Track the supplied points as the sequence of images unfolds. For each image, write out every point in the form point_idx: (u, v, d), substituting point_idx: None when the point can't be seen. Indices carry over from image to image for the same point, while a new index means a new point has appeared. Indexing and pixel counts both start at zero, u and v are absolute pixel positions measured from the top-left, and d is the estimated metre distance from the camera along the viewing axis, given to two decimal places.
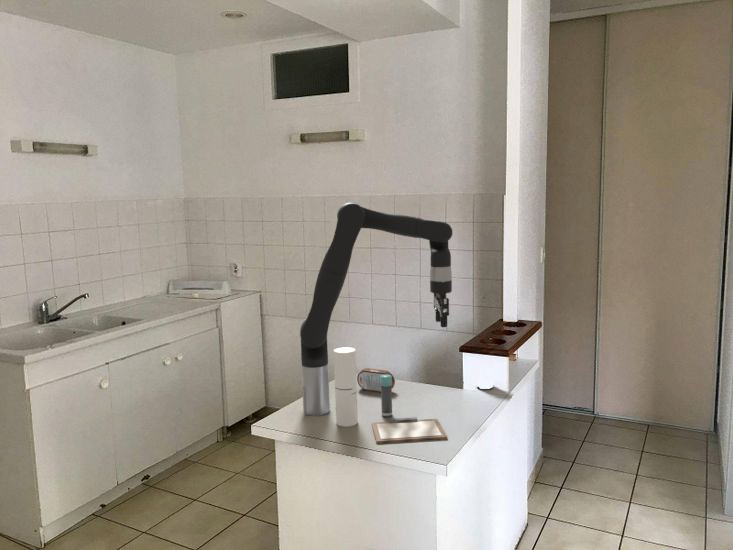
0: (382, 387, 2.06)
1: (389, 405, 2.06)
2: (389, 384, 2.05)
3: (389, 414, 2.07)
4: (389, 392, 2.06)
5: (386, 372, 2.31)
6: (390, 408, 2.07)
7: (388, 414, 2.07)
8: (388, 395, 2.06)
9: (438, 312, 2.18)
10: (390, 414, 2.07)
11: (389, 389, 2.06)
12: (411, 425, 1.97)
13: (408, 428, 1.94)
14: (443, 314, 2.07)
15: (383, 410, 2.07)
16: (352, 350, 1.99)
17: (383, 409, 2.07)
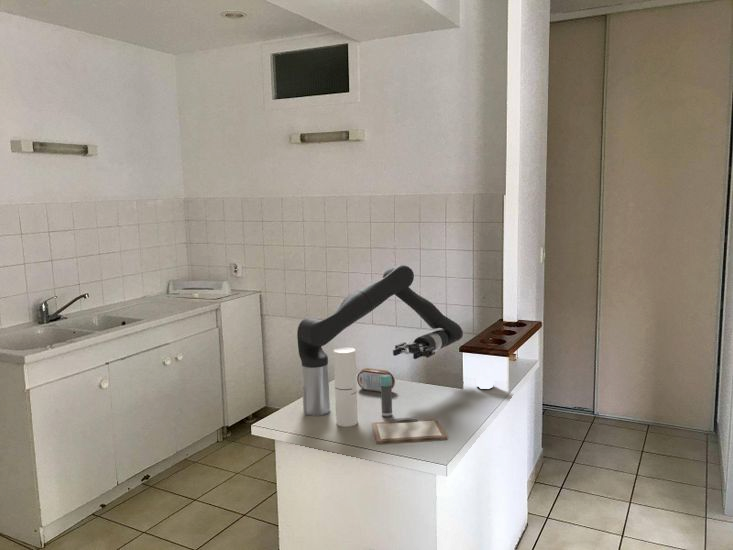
0: (382, 387, 2.06)
1: (389, 405, 2.06)
2: (389, 384, 2.05)
3: (389, 414, 2.07)
4: (389, 392, 2.06)
5: (386, 372, 2.31)
6: (390, 408, 2.07)
7: (388, 414, 2.07)
8: (387, 395, 2.06)
9: (399, 350, 2.20)
10: (390, 414, 2.07)
11: (389, 389, 2.06)
12: (411, 425, 1.97)
13: (408, 428, 1.94)
14: (427, 351, 2.14)
15: (383, 410, 2.07)
16: (352, 350, 1.99)
17: (383, 409, 2.07)
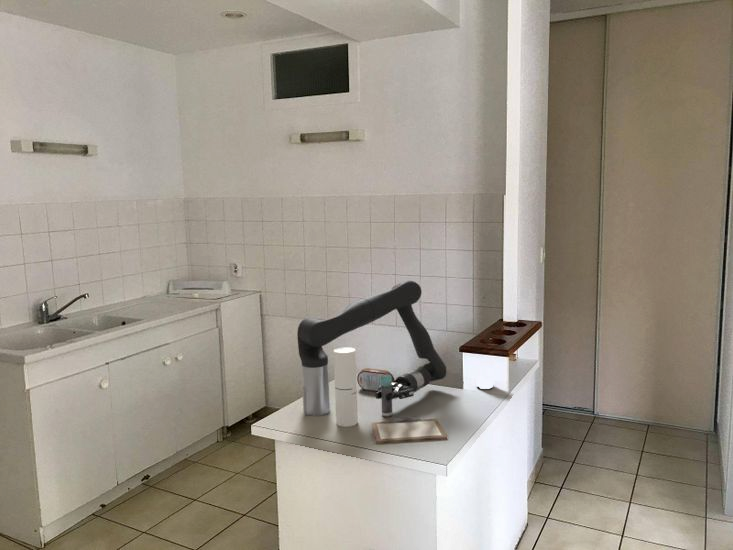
0: (382, 387, 2.06)
1: (389, 405, 2.06)
2: (389, 384, 2.05)
3: (389, 414, 2.07)
4: (389, 392, 2.06)
5: (386, 372, 2.31)
6: (390, 408, 2.07)
7: (388, 414, 2.07)
8: None
9: None
10: (390, 414, 2.07)
11: (389, 389, 2.06)
12: (411, 425, 1.97)
13: (408, 428, 1.94)
14: (401, 393, 2.06)
15: (383, 410, 2.07)
16: (352, 350, 1.99)
17: (383, 409, 2.07)
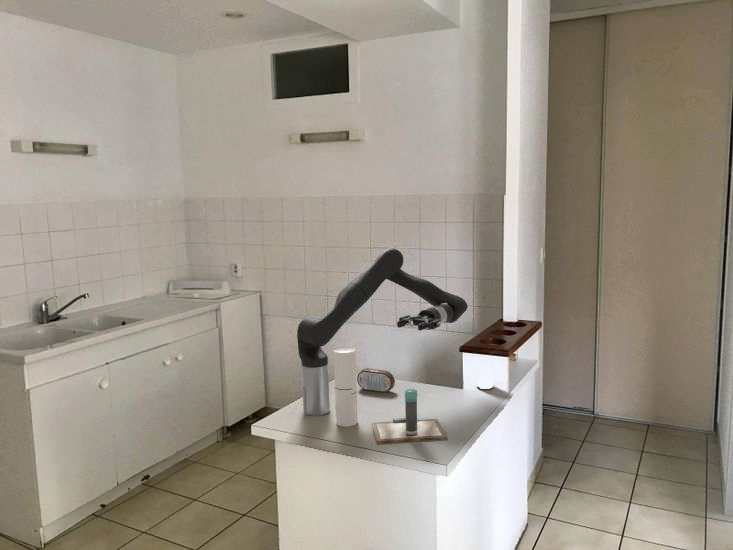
0: (407, 402, 1.87)
1: (414, 423, 1.88)
2: (414, 400, 1.87)
3: (414, 433, 1.88)
4: (414, 408, 1.87)
5: (386, 372, 2.31)
6: (415, 426, 1.88)
7: (413, 433, 1.88)
8: (412, 411, 1.87)
9: (404, 322, 2.15)
10: (415, 432, 1.88)
11: (414, 405, 1.87)
12: None
13: None
14: (433, 323, 2.09)
15: (407, 428, 1.88)
16: (352, 350, 1.99)
17: (407, 427, 1.88)
